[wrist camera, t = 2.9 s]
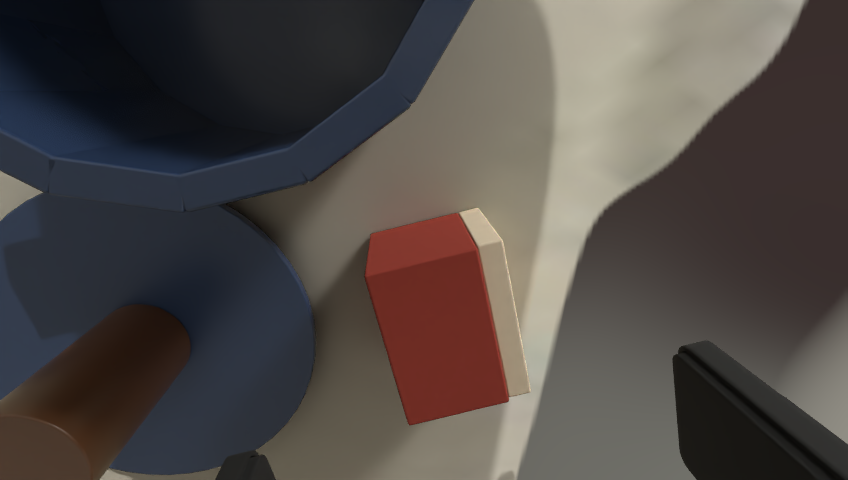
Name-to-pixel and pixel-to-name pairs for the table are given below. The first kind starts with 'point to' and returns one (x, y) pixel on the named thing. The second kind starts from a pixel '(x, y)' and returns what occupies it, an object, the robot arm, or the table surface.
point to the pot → (204, 91)
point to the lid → (143, 339)
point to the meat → (447, 315)
